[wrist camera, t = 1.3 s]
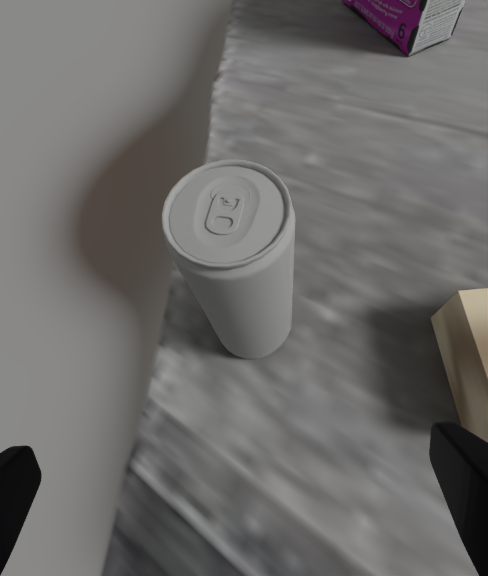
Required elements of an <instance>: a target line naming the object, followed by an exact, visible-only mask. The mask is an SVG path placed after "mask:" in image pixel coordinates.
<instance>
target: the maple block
mask: <svg viewBox="0 0 488 576" xmlns="http://www.w3.org/2000/svg"><path fill="white" fill-rule="evenodd" d="M431 322H432V325H433V329H434V332H435V336H436V339H437V343H438V346H439V350H440V353H441V356H442V360H443V363H444V367H445V370H446V374H447V377H448V381H449V384H450V388H451V391H452V395H453V398H454V402H455V405H456V409H457V412H458V416H459V419H460V423H461V426H462V427H464V428H465V429H467V430H469V431H470V432H472V433H473V434H475V435H477V436H478V437H480V438H481V439H483V440H488V288H486V289H474V290H462V291H458V292H457V293H456V294H454V295H453V296H452V297H451V298H450V299H449V300H448V301H447V302H446V303H445V304H444V305H443V306H442V307H441V308H440V309H439V310H438V311H437V312H436V313H435V314H434V315H433V316H432V317H431Z"/></svg>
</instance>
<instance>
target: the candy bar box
mask: <svg viewBox="0 0 488 576" xmlns="http://www.w3.org/2000/svg"><path fill="white" fill-rule="evenodd" d="M342 1H343V2H344V3H345V4H347V5H348V6H349V7H350V8H352V9H353V10H354V11H355V12H356V13H358V14H359V15H360V16H361V17H362V18H364V19H365V20H366V21H367V22H368V23H370V24H371V25H372V26H373V27H374V28H376V29H377V30H378V31H379V32H380V33H382V34H383V35H384V36H385V37H386V38H387V39H389V40H390V41H391V42H392V43H393V44H395V45H396V46H397V47H398V48H399V49H400V50H402V51H403V52H404V53H405V54H406V55H408V56H411V55H414V54H417V53H419V52H421V51H423V50H425V49H427V48H429V47H431V46H434V45H436V44H439V43H441V42H443V41H445V40H448V39H450V38H451V36H452V34H453V31H454V29H455V26H456V24H457V21H458V19H459V16H460V14H461V11H462V9H463V6H464V3H465V1H466V0H342Z"/></svg>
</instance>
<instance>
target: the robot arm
mask: <svg viewBox="0 0 488 576" xmlns="http://www.w3.org/2000/svg"><path fill="white" fill-rule="evenodd" d="M429 455H430V461H431V464H432V467H433V469H434V472H435V474H436V477H437V480H438V482H439V485H440V487H441V490H442V492H443V495H444V497H445V500H446V502H447V505H448V508H449V510H450V513H451V515H452V518H453V520H454V523H455V525H456V528H457V530H458V533H459V535H460V537H461V540H462V542H463V544H464V546H465V548H466V550H467V552H468V555H469V557H470V558H471V560H472V562H473V564H474V566H475V568H476V570H477V572H478V574H479V576H488V442H486V441H485V440H483V439H481V438H480V437H478V436H477V435H475V434H473V433H472V432H470V431H469V430H467V429H465V428H464V427H462V426H461V425H459V424H457V423H455V422H452V421H446V422H435V423H433V425H432V427H431V438H430V450H429ZM40 482H41V470H40V468H39V465H38V462H37V460H36V457H35V455H34V452H33V450H32V448H31V447H29V446H13V447H10V448H8V449H6V450H5V451H3V452H1V453H0V575H1V573H2V571H3V569H4V567H5V565H6V563H7V561H8V559H9V557H10V555H11V552H12V550H13V548H14V546H15V543H16V541H17V539H18V536H19V534H20V531H21V529H22V526H23V524H24V521H25V519H26V517H27V514H28V512H29V509H30V507H31V505H32V502H33V500H34V497H35V495H36V493H37V490H38V488H39V485H40Z"/></svg>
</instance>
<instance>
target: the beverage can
mask: <svg viewBox="0 0 488 576" xmlns="http://www.w3.org/2000/svg"><path fill="white" fill-rule="evenodd" d="M162 225H163V231H164V233H165V241H166V244H167V247H168V249H169V251H170V253H171V255H172V258H173V260H174V261H175V263H176V265H177V267H178V268H179V270H180V272H181V274H182V275H183V277H184V279H185V281H186V282H187V284H188V286H189V287H190V289H191V291H192V292H193V294H194V296H195V297H196V299H197V301H198V302H199V304H200V306H201V307H202V309H203V311H204V313H205V314H206V316H207V318H208V320H209V321H210V323H211V325H212V327H213V328H214V330H215V332H216V334H217V335H218V337H219V339H220V341H221V343H222V344H223V345H224V346H225V348H226V349H227V350H228V351H230V352H231V353H232V354H234V355H236V356H239V357H242V358H245V359H257V358H262V357H265V356H267V355H269V354H271V353H273V352H274V351H275V350H277V349H278V348H279V347H280V346H281V345H282V344H283V342H284V341H285V340H286V338H287V337H288V334H289V332H290V329H291V319H292V293H293V266H294V239H295V214H294V210H293V207H292V202H291V199H290V195H289V192H288V189H287V187H286V186H285V185H284V183H283V182H282V180H281V179H280V177H278V176H277V175H276V174H275V173H273V172H272V171H271V170H270V169H268V168H266V167H264V166H262V165H259V164H257V163H255V162H250V161H245V160H221V161H216V162H212V163H208V164H206V165H203V166H201V167H199V168H196V169H194V170H193V171H191V172H190V173H188V174H187V175H185V176H184V177H183V178H181V179H180V180H179V182H178V183H177V184H176V185H175V186H174V187H173V188H172V189H171V191H170V193H169V195H168V197H167V199H166V200H165V203H164V207H163V212H162Z"/></svg>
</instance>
